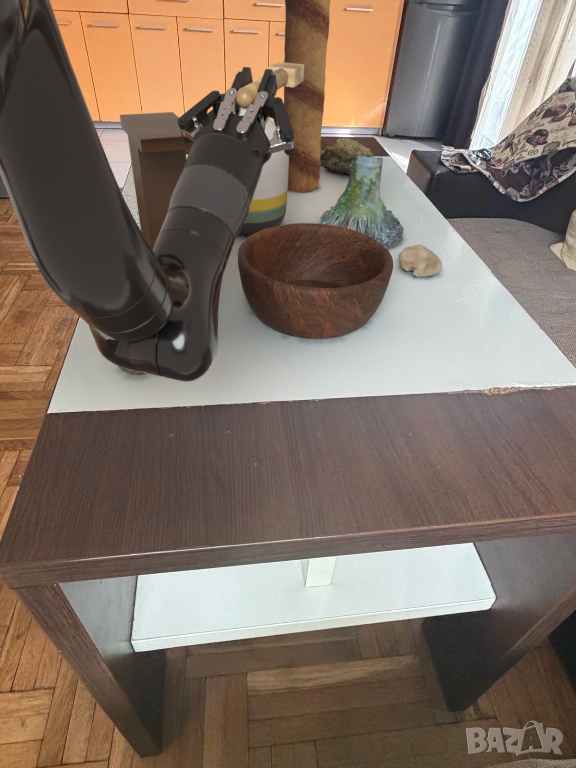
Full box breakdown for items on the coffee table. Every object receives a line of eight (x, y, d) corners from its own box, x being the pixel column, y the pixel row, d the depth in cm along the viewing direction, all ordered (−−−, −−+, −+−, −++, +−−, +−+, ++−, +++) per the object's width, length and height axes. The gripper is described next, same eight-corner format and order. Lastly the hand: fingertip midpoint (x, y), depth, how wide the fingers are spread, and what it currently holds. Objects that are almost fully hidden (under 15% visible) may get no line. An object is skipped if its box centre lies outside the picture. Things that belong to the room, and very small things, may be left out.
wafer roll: (271, 182, 140) (276, -34, 111) (305, 177, 144) (319, -32, 116) (290, 195, 133) (300, -32, 104) (325, 189, 137) (345, -29, 109)
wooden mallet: (277, 78, 71) (278, 61, 70) (303, 81, 71) (304, 64, 70) (226, 108, 56) (225, 87, 55) (258, 111, 56) (258, 90, 54)
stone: (410, 271, 108) (389, 252, 103) (435, 251, 106) (415, 230, 100) (423, 293, 104) (402, 274, 99) (450, 272, 101) (430, 251, 96)
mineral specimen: (361, 165, 155) (365, 128, 149) (380, 179, 145) (386, 141, 139) (315, 167, 151) (318, 130, 145) (332, 182, 142) (335, 143, 135)
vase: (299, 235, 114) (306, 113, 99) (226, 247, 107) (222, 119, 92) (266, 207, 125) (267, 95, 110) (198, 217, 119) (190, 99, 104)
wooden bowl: (381, 360, 79) (393, 300, 73) (221, 338, 82) (218, 279, 75) (385, 283, 99) (395, 230, 92) (255, 267, 101) (256, 215, 95)
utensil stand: (215, 343, 81) (204, 134, 62) (163, 354, 78) (135, 139, 59) (192, 305, 89) (176, 111, 70) (145, 314, 86) (115, 114, 67)
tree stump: (316, 249, 109) (320, 156, 102) (320, 234, 127) (324, 154, 120) (405, 253, 108) (416, 158, 100) (397, 237, 126) (405, 156, 118)
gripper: (274, 176, 48) (317, 47, 54) (138, 158, 51) (193, 37, 57) (283, 228, 55) (320, 109, 61) (162, 210, 58) (209, 98, 64)
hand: (259, 75), depth 59 cm, fingers closed on wooden mallet, 2 cm apart
